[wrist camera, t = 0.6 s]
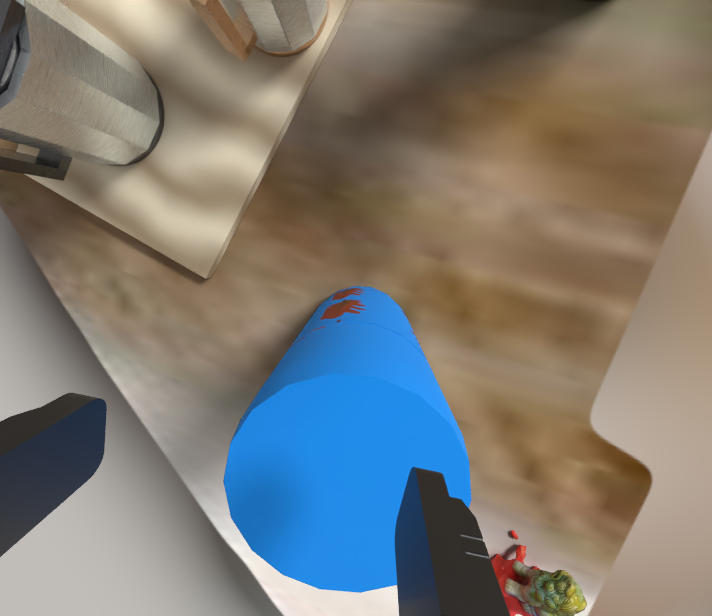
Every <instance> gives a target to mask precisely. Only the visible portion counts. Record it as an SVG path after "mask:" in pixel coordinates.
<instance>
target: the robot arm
mask: <svg viewBox="0 0 712 616" xmlns="http://www.w3.org/2000/svg"><path fill="white" fill-rule="evenodd" d="M105 426H106V403H105V401H104V400H102V399H99V398H94V397H90V396H85V395H81V394H76V393H68V394H65V395H63V396H61V397H59V398H57V399H56V400H54V401H52V402H50V403H48V404H46V405H45V406H43V407H41V408H37V409H33V410H30V411H27V412H24V413H21V414H17V415H14V416H11V417H9V418H7V419H5V420H3V421H1V422H0V557H1V556H2V555H3V554H4V553H5V552H6V551H7V550H9V549H10V548H11V547H12V546H13V545H14V544H16V543H17V542H18V541H19V540H20V539H21V538H22V537H24V536H25V535H26V534H27V533H28V532H29V531H30V530H32V529H33V528H34V527H35V526H36V525H37V524H38V523H40V522H41V521H42V520H43V519H44V518H45V517H46V516H47V515H49V514H50V513H51V512H52V511H53V510H54V509H56V508H57V507H58V506H59V505H60V504H61V503H62V502H64V501H65V500H66V499H67V498H68V497H69V496H70V495H71V494H73V493H74V492H75V491H76V490H77V489H78V488H79V487H81V486H82V485H83V484H84V483H85V482H86V481H87V480H88V479H90V478H91V477H92V475H93V474H94V473H95V472H96V470H97V469H98V467H99V465H100V463H101V461H102V458H103V455H104V443H105ZM395 559H396V573H397V588H398V603H399V616H510V613H509V610H508V608H507V605H506V602H505V599H504V596H503V594H502V591H501V588H500V585H499V582H498V579H497V577H496V574H495V571H494V568H493V565H492V563H491V560H489V554H488V551H487V548H486V546H485V543H484V542H483V537H482V534H481V532H480V529H479V526H478V523H477V520H476V518H475V516H474V515H473V514H472V512H471V511H470V510H469V508H468V507H467V506H466V505H465V503H464V502H463V501H462V499H458V498H453V497H450V496H449V493H448V489H447V486H446V482H445V479H444V476H443V474H442V473H440V472H435V471H431V470H426V469H421V468H417V467H412V468H411V470H410V473H409V476H408V480H407V484H406V487H405V491H404V494H403V498H402V502H401V505H400V509H399V512H398V516H397V521H396V528H395Z"/></svg>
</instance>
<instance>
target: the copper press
mask: <svg viewBox="0 0 712 616" xmlns="http://www.w3.org/2000/svg"><path fill="white" fill-rule="evenodd" d="M188 1H189V2H190V3H191V5H192V6H193V7H194V8H195V10H196V11H197V12H198V14H199V15H200V16H201V18H202V19H203V20H204V22H205V23H206V24H207V26H208V27H209V28H210V29H211V31H212V32H213V33H214V35H215V36H216V37H217V39H218V40H219V41H220V43H221V44H222V45H223V47H224V48H225V49H226V50H227V51H228V52H230V53H231V54H233V55H234V56H236V57H238V58H239V59H241V60H242V61H244V62H246V60H247V57H248V56H250V54H251V52H252V50H253V47H255V48H257V49H258V50H259V51H261V52H263V53H265V54H267V55H270V56H274V57H290V56H295V55H297V54H300V53H302V52H303V51H305V50H307V49H308V48H309V47H310V46H311V45H312V44H313V43H314V42H315V41H316V40H317V39H318V37H319V36H320V34H321V32H322V31H323V28H324V26H325V23H326V20H327V15H328V7H329V1H328V0H221V1H222V2H223V4H224V5H225V7H226V9H227V10H228V12H229V13H230V15H231V17H232V18H233V20H234V22H232V21H231V19H230V18H229V16H228V14H227V13H226V11H225V10H224V8H223V6H222V5H221V3H220V2H219V0H188Z"/></svg>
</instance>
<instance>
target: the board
mask: <svg viewBox="0 0 712 616" xmlns="http://www.w3.org/2000/svg"><path fill="white" fill-rule="evenodd" d="M328 1H329V7H328V15H327V20H326V23H325V26H324V28H323V31H322V32H321V34H320V36H319V37H318V39H317V40H316V41H315V42H314V43H313V44H312V45H311V46H310V47H309V48H308V49H307V50H305V51H303V52H302V53H300V54H297V55H295V56H290V57H274V56H270V55H267V54H265V53H263V52H261V51H259V50H258V49H257V48H255V47H253V50H252V52H251V54H250V56H248V57H247V60H246V62H244V61H242V60H241V59H239V58H238V57H236V56H234V55H233V54H231V53H230V52H228V51H227V50H226V49H225V48H224V47H223V45H222V44H221V43H220V41H219V40H218V39H217V37H216V36H215V35H214V33H213V32H212V31H211V29H210V28H209V27H208V26H207V24H206V23H205V22H204V20H203V19H202V18H201V16H200V15H199V14H198V12H197V11H196V10H195V8H194V7H193V6H192V5H191V3H190V2H189V1H188V0H71V1H70V4H69V7H68V8H69V9H70V10H72V11H73V12H74V13H75V14H77V15H78V16H79V17H81V18H82V19H83V20H85V21H86V22H87V23H89V24H90V25H91V26H93V27H94V28H95V29H96V30H98V31H99V32H100V33H102V34H103V35H104V36H106V37H107V38H108V39H110V40H111V41H112V42H114V43H115V44H116V45H117V46H119V47H120V48H121V49H123V50H124V51H125V52H127V53H128V54H129V55H131V56H132V57H133V58H135V59H136V60H137V61H138V62H140V64H141V65H142V67H144V68H145V69H146V71H147V72H148V73H149V74H150V75H151V77H152V78H153V80H154V81H155V83H156V85H157V87H158V89H159V91H160V94H161V97H162V101H163V105H164V127H163V131H162V135H161V137H160V140H159V142H158V144H157V145H156V147H155V148H154V150H153V151H152V152H151V153H150V154H149V155H148V156H147V157H145V158H144V159H143V160H141V161H139V162H137V163H135V164H132V165H128V166H110V165H105V164H94V163H91V162H87V161H83V160H79V159H76V158H72V161H71V163H70V166H69V169H68V171H67V174H66V176H65V179H64V181H61V180H56V179H50V178H45V177H39V176H34V175H28V174H25V175H27V176H28V177H30V178H32V179H34V180H35V181H37V182H39V183H40V184H42V185H44V186H46V187H47V188H49V189H51V190H53V191H54V192H56V193H58V194H60V195H61V196H63V197H65V198H66V199H68V200H70V201H72V202H73V203H75V204H77V205H79V206H80V207H82V208H84V209H86V210H87V211H89V212H91V213H93V214H94V215H96V216H98V217H99V218H101V219H103V220H105V221H106V222H108V223H110V224H112V225H113V226H115V227H117V228H119V229H120V230H122V231H124V232H125V233H127V234H129V235H131V236H132V237H134V238H136V239H138V240H139V241H141V242H143V243H145V244H146V245H148V246H150V247H151V248H153V249H155V250H157V251H158V252H160V253H162V254H164V255H165V256H167V257H169V258H171V259H172V260H174V261H176V262H177V263H179V264H181V265H183V266H184V267H186V268H188V269H190V270H191V271H193V272H195V273H197V274H198V275H200V276H202V277H203V278H205V279H207V278H211V277H212V276H213V274H214V272H215V270H216V268H217V266H218V264H219V262H220V260H221V258H222V256H223V254H224V252H225V251H226V249H227V247H228V245H229V243H230V241H231V239H232V237H233V235H234V233H235V231H236V229H237V227H238V225H239V223H240V221H241V219H242V217H243V215H244V213H245V211H246V209H247V207H248V205H249V203H250V201H251V199H252V198H253V196H254V194H255V192H256V190H257V188H258V186H259V184H260V182H261V180H262V178H263V176H264V174H265V172H266V170H267V168H268V166H269V164H270V162H271V160H272V158H273V156H274V154H275V152H276V150H277V148H278V146H279V145H280V143H281V141H282V139H283V137H284V135H285V133H286V131H287V129H288V127H289V125H290V123H291V121H292V119H293V117H294V115H295V113H296V111H297V109H298V107H299V105H300V103H301V101H302V99H303V97H304V95H305V93H306V92H307V90H308V88H309V86H310V84H311V82H312V80H313V78H314V76H315V74H316V72H317V70H318V68H319V66H320V64H321V62H322V60H323V58H324V56H325V54H326V52H327V50H328V48H329V46H330V44H331V42H332V40H333V38H334V37H335V35H336V33H337V31H338V29H339V27H340V25H341V23H342V21H343V19H344V17H345V15H346V13H347V11H348V9H349V7H350V5H351V3H352V1H353V0H328ZM219 2H220V3H221V5H222V6H223V8H224V10H225V11H226V13H227V14H228V16H229V18H230V19H231V21H232V22H234V20H233V18H232V17H231V15H230V13H229V12H228V10H227V9H226V7H225V5H224V4H223V2H222V1H221V0H219ZM39 150H40V149H38V148H34V147H31V146H27V145H23V144H19V145H18V148H17V150H16V152H20V153H24V154H28V155H33V156H37V155H38V153H39Z"/></svg>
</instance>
